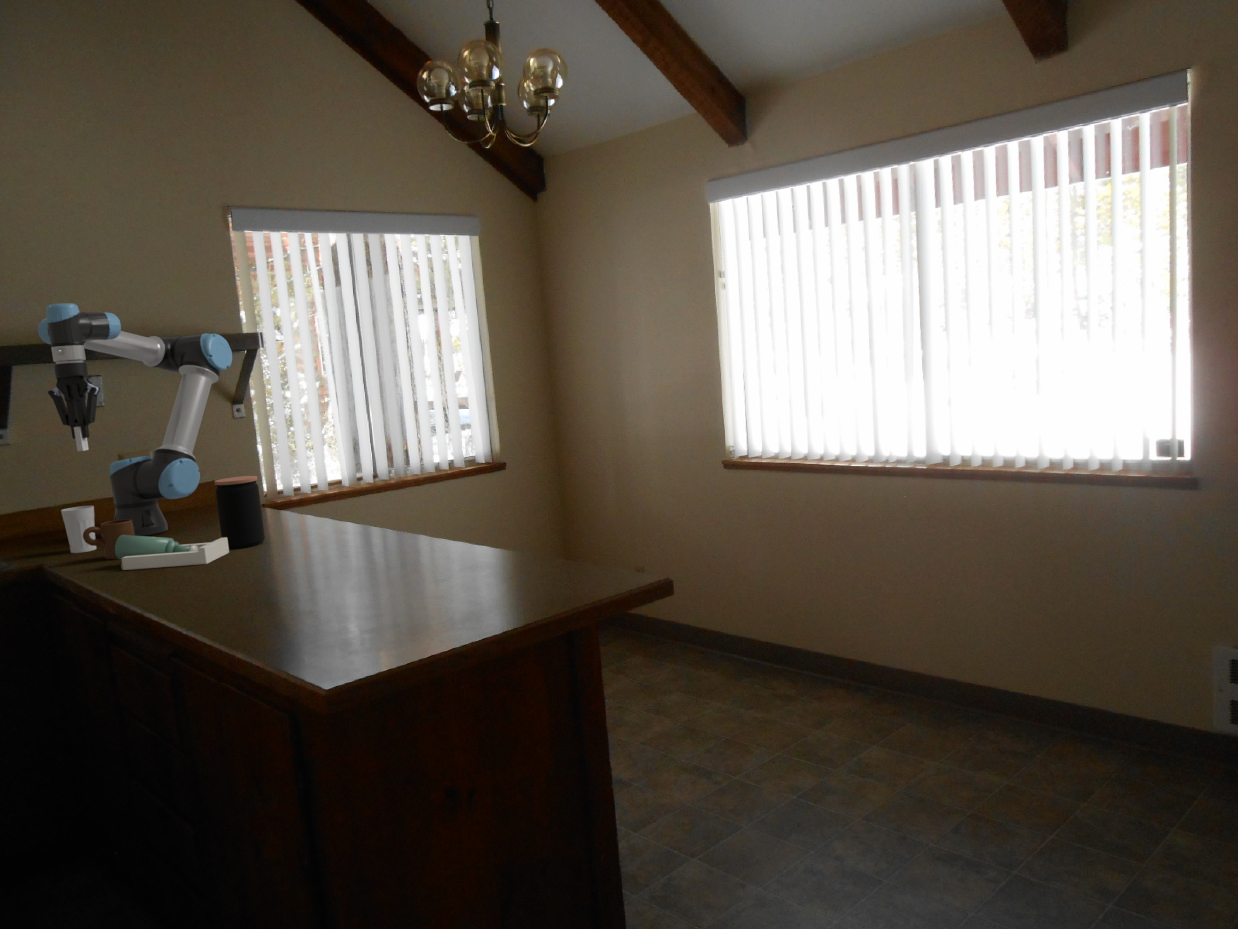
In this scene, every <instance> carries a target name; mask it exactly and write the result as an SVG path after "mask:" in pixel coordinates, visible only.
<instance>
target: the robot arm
mask: <svg viewBox="0 0 1238 929" xmlns="http://www.w3.org/2000/svg"><path fill="white" fill-rule="evenodd" d="M78 306H79V305H77V304H76V303H72V302H71V303H69V302H68V303H63V302H62V303H53V304H48V305H47V306H46V308H45V312H46V313H45V315H46V316H45V318H43V319H41V321H40V322H39V323H38V327H37V332H38V336H39V338H40V339H41V340H42V341H43V343H45V344H48V345H50V347H51V354H52V360H53V362H54V363H56V364H54V365H53V368H54V375H55V378H56V383H55V387H54V388H53V389H52V390H48V391H47V394H48V395H49V397H50V398H51V399H52V400H53V403H54V405H55V409H56V410H57V413H58V415H59V418H60V420H61V423H62V425H63V426H68V427H69V428H70V432H71V437H72V439H74V440H75V444H76V451H77V452H83V451H84V452H85V451H89V449H90V448H89V443H88V438H90V429H89V425H90V424H92V423H95V422H96V414H97V412H96V411H97V404H98V394H99V393H100V391H101V388H100V387H99V386H95V385H93V384H91V381H90V380H89V372H88V365H87V363H86V362H84V361H86V359H87V358H86V352H85V349H86V350H90V351H94V352H98V353H104V354H108V355H113V356H117V357H121V358H127V359H131V360H135V361H139V362H142V363H143V364H144V365H145V366H147V367H151V368H156V369H160V370H163V371H168V372H172V373H178V374H180V375H181V380H180V382H179V386H178V390H177V393H176V397H175V400H174V403H173V407H172V411H171V413H170V418H169V421H168V424H167V427H166V431H165V434H164V438H163V440H162V444H161V446H159V447H157V448H155V449H154V452H153V455H152V456H151V455H144V456H143V455H142V456H136V457H131V458H125V459H121V460H117V461H113V462H111V463H110V464H109V478H110V483H111V484H110V485H111V491H112V498H113V503H114V510H115V513H114V516H113V517H114V518H113V521H114V520H123V519H131V520H132V523H133V527H134V534H135V536H151V535H155V534H160V533H164V532H167V531H168V529H169V528H168V522H167V520H166V517H165V516H164V515H163V513H162V511H161V510H162V509H160V506H159V502H158V500H167V499H169V500H176V499H182V498H186V497H188V496H191V494H192V493H194V492H195V491H196V489H197V488H198V486H199V483H200V479H201V473H200V468H199V466H198V464H197V463H196V461H197V459H196V457H195V455H194V453H193V452H194V448H195V445H196V441H197V439H198V434H199V430H200V427H201V423H202V420H203V416H204V412H205V409H206V405H207V402H208V398H209V395H210V391H211V388H212V385H213V384H215V383H217V382H218V381H219V378H220V375H221V372H223V371H226V370H227V369H229V368H230V367H231V366H232V362H233V352H232V349H231V347H230V345H229V342H228V341H227V339H226V338H224V337H223V336H222V335H220V334H218V333H207V332H206V333H202V334H195V335H185V336H184V335H183V336H175V337H174V336H173V337H163V336H161V337H160V336H156V335H150V336H149V337H147V336H143V335H140V334H136V333H131V332H127V331H124V330H122V324H121V321H120V318H119V317H118V316H117V315H116V314H114V313H112V312H105V311H101V312H99V311H97V312H96V311H95V312H94V311H92V312H91V311H89V312H87V311H80V309H79V307H78ZM86 393H88V394H87V395H86ZM62 395H63V396H62ZM63 397H64V398H63Z"/></svg>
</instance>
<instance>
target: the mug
mask: <svg viewBox="0 0 1238 929" xmlns="http://www.w3.org/2000/svg"><path fill="white" fill-rule="evenodd" d="M94 526H95V525H94ZM94 526H93V527H89V528H87V529H86V530H85V531H84V533H83V539H84V541H85V542H86V543H87V544H89V545H92V546H96V547H97V546H98V547H100V548H103V554H104V558H105V559H106V560H120V559H119V558H117V556H116V553H115V545H116V541H117V539H118V538H119V536H121V535H134V536H135V534H134V527H133V523H132V520H131V519H123V520H114V519H113V520H109V521H104V522H101V523H100V527H98V526H95V527H94ZM91 532H93V533H95V534H100V535H101V538H95V539H92V538H91V537H90V535H89V534H90V533H91Z"/></svg>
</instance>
